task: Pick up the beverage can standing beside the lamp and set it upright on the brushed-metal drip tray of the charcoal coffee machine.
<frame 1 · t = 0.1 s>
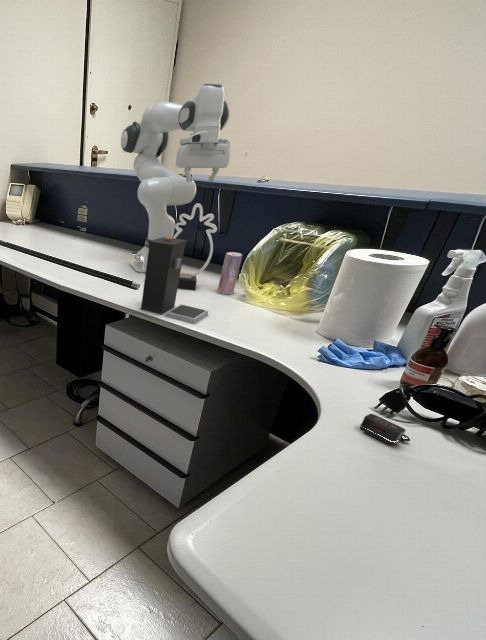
hand: (200, 181, 150), 39 cm above the table, tool pointing down, fingers open, 8 cm apart
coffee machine: (173, 312, 141), on the table
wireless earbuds: (383, 438, 81), on the table
lamp: (183, 286, 168), on the table
beverage can: (225, 292, 162), on the table
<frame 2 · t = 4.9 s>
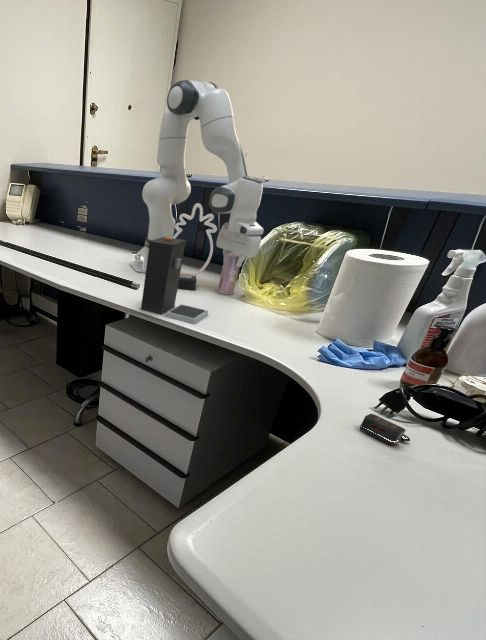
hand: (231, 264, 156), 11 cm above the table, tool pointing down, fingers closed on beverage can, 6 cm apart
beverage can: (225, 292, 162), on the table, touching gripper
everything else where it was.
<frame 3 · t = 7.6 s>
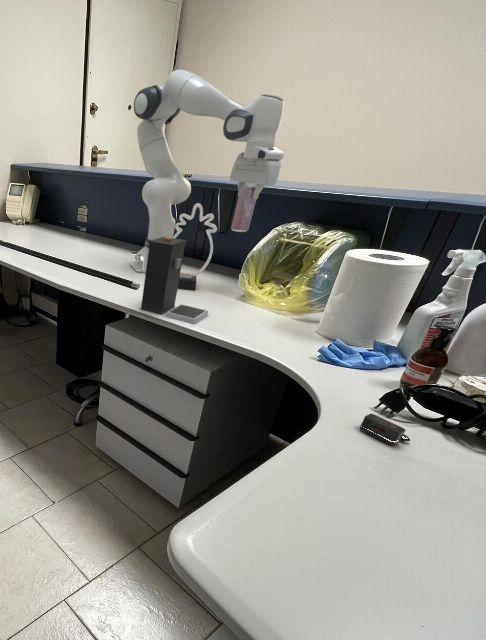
hand: (247, 197, 144), 35 cm above the table, tool pointing down, fingers closed on beverage can, 6 cm apart
beverage can: (239, 231, 150), point 23 cm above the table, touching gripper
everything else where it was.
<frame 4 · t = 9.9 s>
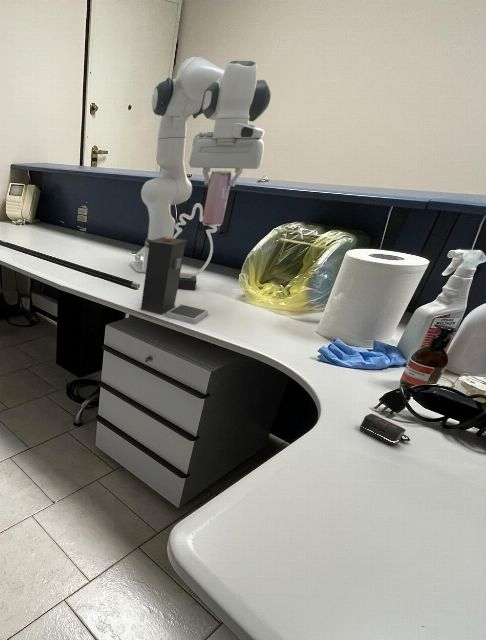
hand: (219, 185, 122), 40 cm above the table, tool pointing down, fingers closed on beverage can, 6 cm apart
beverage can: (211, 225, 128), point 28 cm above the table, touching gripper
everything else where it was.
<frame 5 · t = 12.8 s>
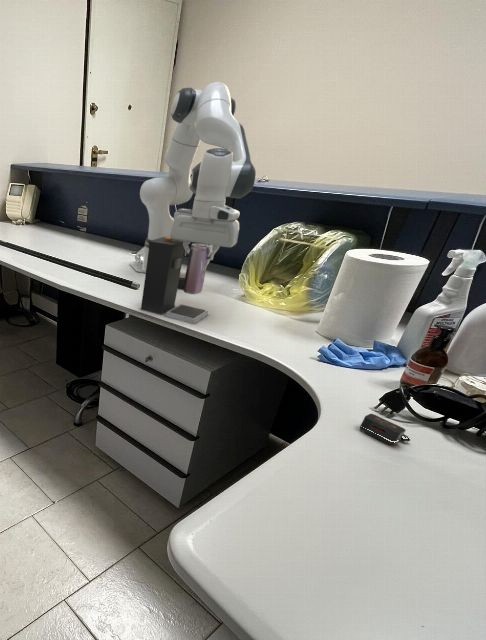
hand: (198, 257, 129), 19 cm above the table, tool pointing down, fingers closed on beverage can, 6 cm apart
beverage can: (191, 292, 135), point 8 cm above the table, touching gripper
everything else where it was.
when the fingers open (13 cm above the table, at t = 15.1 s): beverage can stays where it is, resting on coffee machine.
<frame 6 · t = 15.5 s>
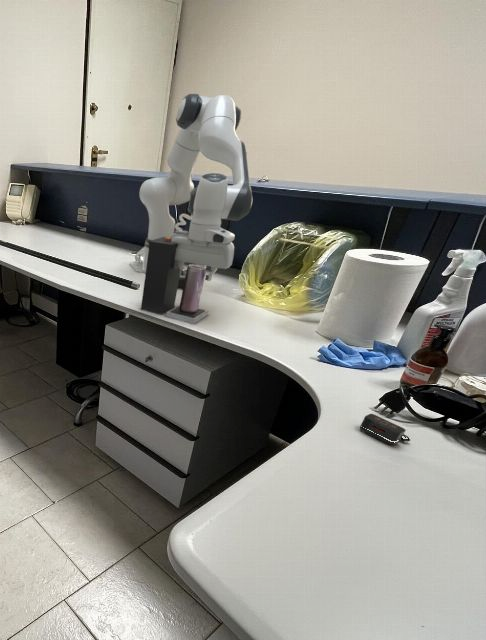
hand: (194, 277, 132), 13 cm above the table, tool pointing down, fingers open, 7 cm apart
beverage can: (187, 311, 138), point 2 cm above the table, touching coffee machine
everything else where it was.
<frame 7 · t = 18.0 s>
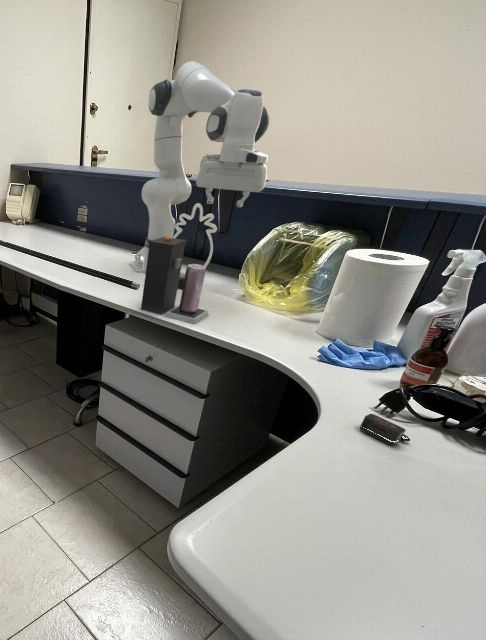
hand: (224, 205, 129), 34 cm above the table, tool pointing down, fingers open, 8 cm apart
nothing on the table moved.
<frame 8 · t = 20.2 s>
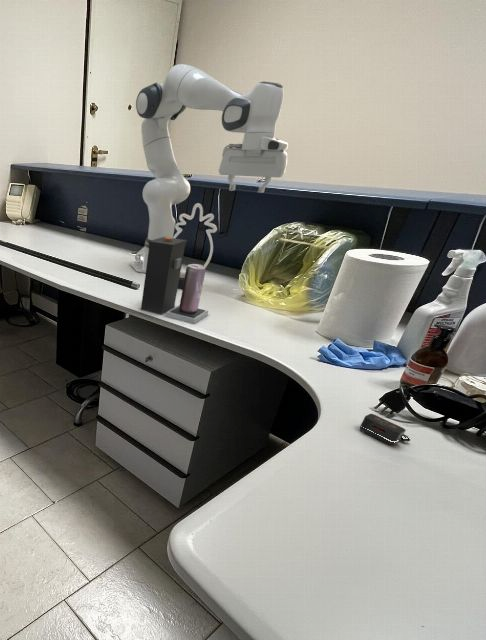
hand: (246, 191, 137), 37 cm above the table, tool pointing down, fingers open, 8 cm apart
nothing on the table moved.
at the end: beverage can inside the target area on the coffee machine (0.1 cm from its centre), point 1.5 cm above the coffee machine's base; beverage can tilted 0° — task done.
